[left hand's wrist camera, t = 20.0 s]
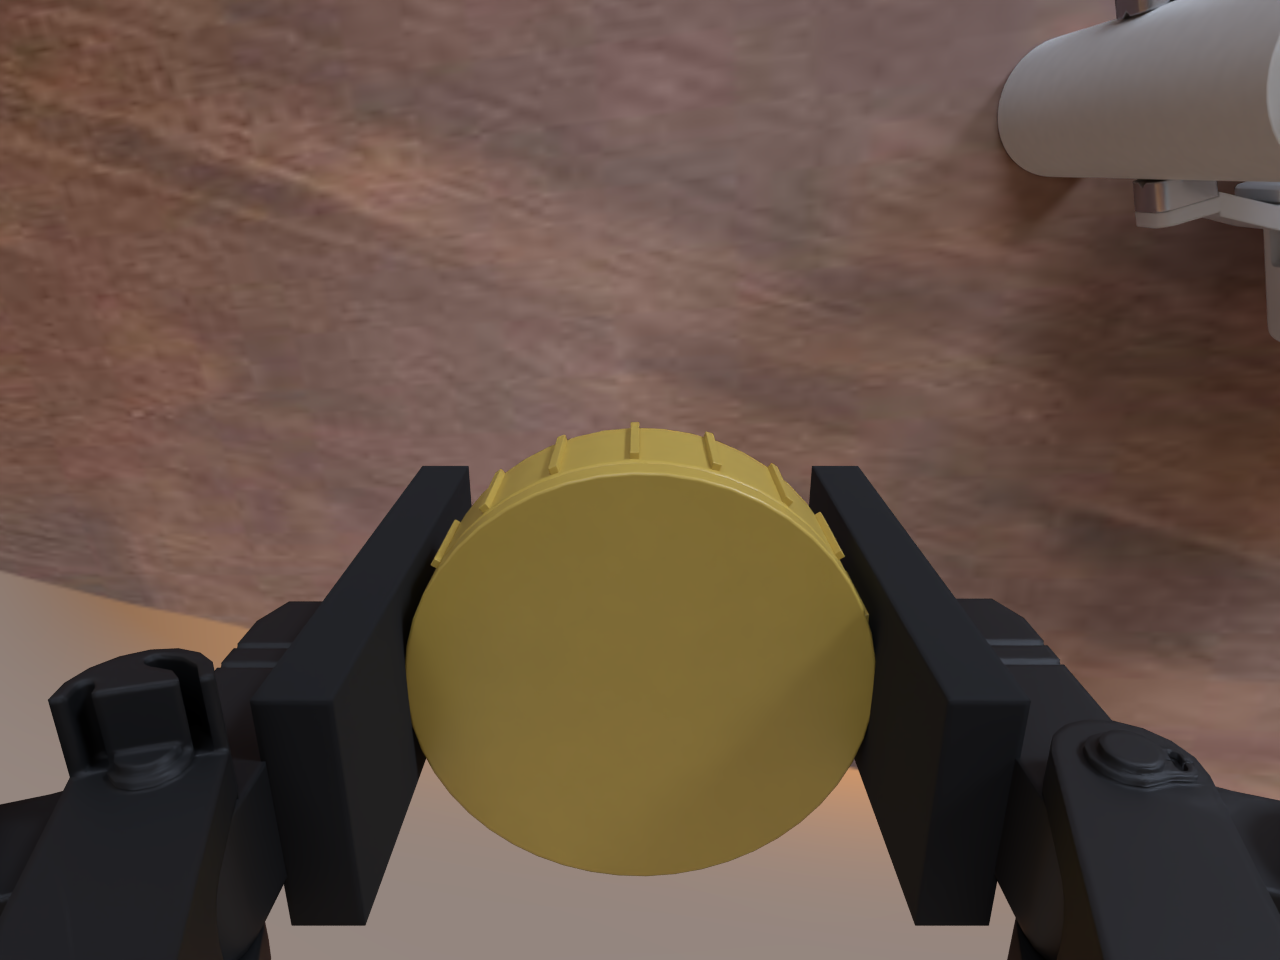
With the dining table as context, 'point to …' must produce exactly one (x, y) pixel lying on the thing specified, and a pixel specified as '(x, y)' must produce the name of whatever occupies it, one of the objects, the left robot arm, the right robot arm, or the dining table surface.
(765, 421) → the dining table surface
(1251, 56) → the jar
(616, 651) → the lid
